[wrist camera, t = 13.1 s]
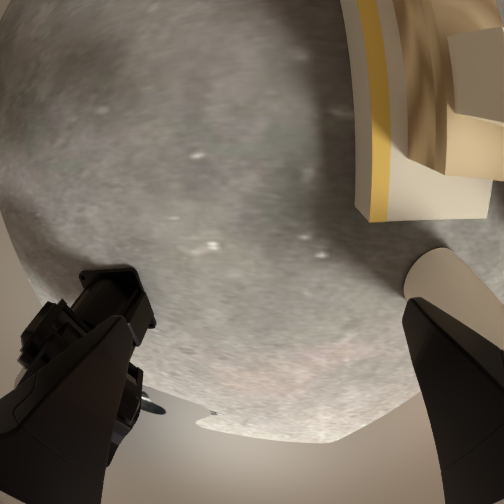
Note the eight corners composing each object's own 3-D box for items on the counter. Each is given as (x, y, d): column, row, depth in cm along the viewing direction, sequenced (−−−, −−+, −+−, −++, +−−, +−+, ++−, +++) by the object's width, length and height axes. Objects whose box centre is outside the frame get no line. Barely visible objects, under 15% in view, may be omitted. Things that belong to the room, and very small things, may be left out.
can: (392, 305, 23) (443, 412, 12) (413, 243, 20) (496, 347, 9) (442, 302, 23) (496, 391, 12) (464, 246, 19) (541, 331, 9)
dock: (354, 205, 18) (369, 222, 16) (305, -108, 4) (309, -125, 1) (465, 204, 17) (486, 218, 15) (419, -80, 3) (432, -90, 1)
